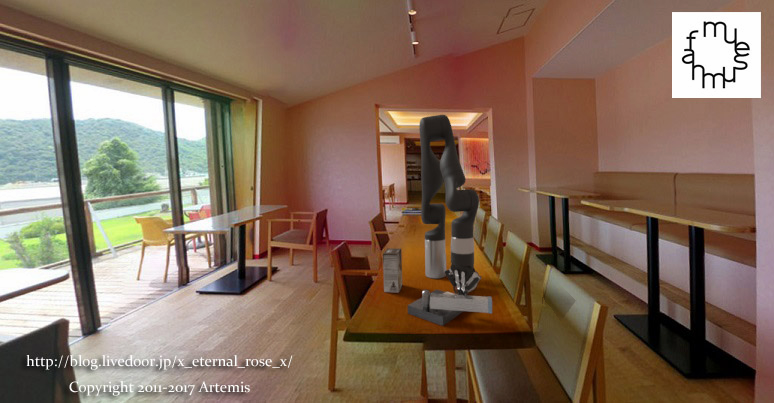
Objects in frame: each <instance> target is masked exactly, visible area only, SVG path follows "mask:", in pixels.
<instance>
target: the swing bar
mask: <svg viewBox="0 0 774 403" xmlns="http://www.w3.org/2000/svg"><path fill="white" fill-rule="evenodd" d="M430 293H431V292H430ZM430 309H442V310H456V311H463V312H470V313H471V312H473V313H482V314H483V313H484V314H493V298H492V296H485V295H483V296H482V295H481V296H480V295H469V294H467V295H451V294H435V293H431V295H430Z"/></svg>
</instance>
